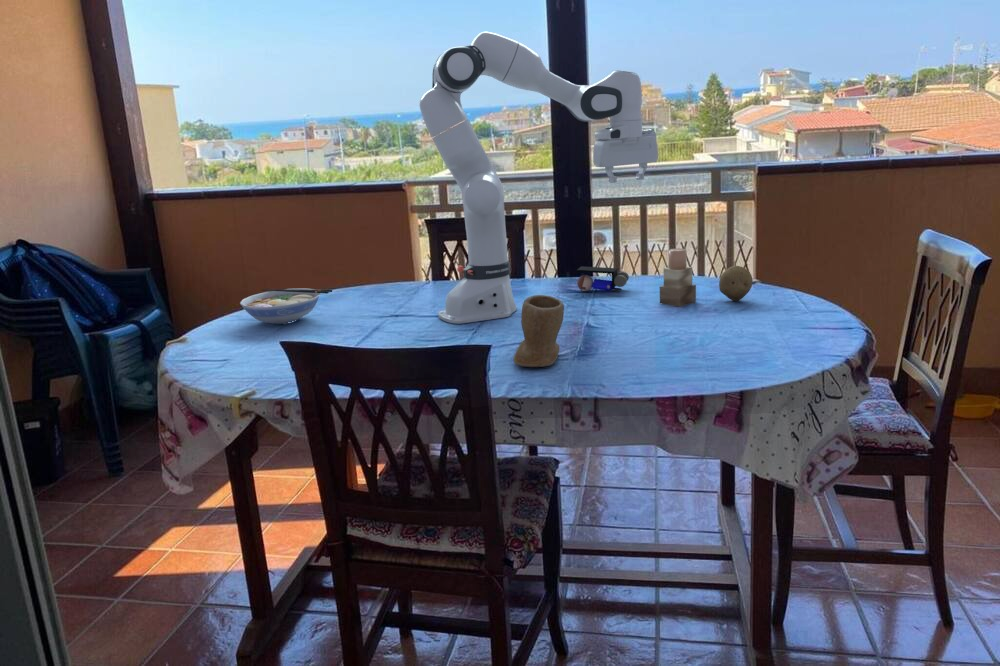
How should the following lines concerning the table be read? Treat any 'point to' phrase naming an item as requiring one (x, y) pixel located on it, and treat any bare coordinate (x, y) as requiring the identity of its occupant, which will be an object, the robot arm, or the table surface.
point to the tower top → (678, 277)
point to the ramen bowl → (281, 304)
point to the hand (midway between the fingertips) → (626, 181)
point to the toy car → (617, 280)
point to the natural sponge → (735, 282)
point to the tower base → (678, 295)
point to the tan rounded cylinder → (677, 259)
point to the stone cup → (539, 331)
